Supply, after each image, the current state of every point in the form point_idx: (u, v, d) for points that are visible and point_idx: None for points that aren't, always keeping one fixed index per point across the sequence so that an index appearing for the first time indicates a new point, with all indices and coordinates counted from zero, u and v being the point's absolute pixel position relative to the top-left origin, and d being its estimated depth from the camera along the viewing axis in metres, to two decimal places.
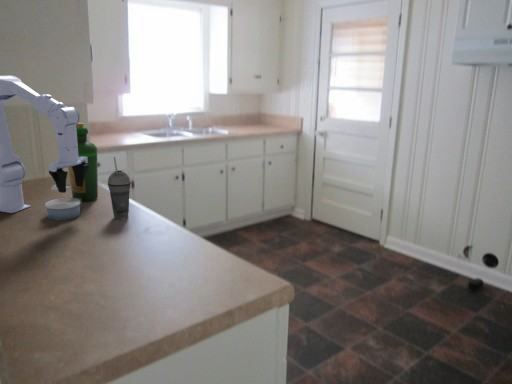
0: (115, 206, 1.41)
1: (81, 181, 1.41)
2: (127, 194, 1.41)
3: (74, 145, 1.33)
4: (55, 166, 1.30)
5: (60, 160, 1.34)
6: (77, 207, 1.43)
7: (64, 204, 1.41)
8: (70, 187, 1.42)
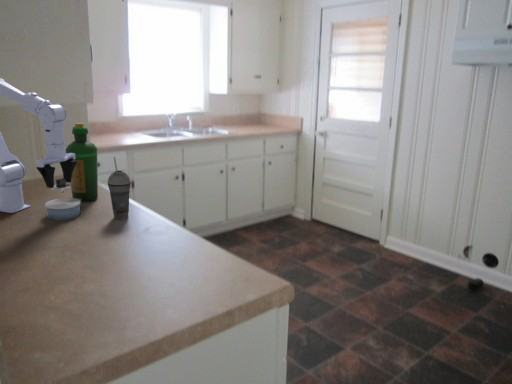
0: (115, 206, 1.41)
1: (69, 177, 1.44)
2: (127, 194, 1.41)
3: (62, 141, 1.37)
4: (42, 162, 1.33)
5: (48, 156, 1.37)
6: (77, 207, 1.43)
7: (64, 204, 1.41)
8: (70, 187, 1.42)
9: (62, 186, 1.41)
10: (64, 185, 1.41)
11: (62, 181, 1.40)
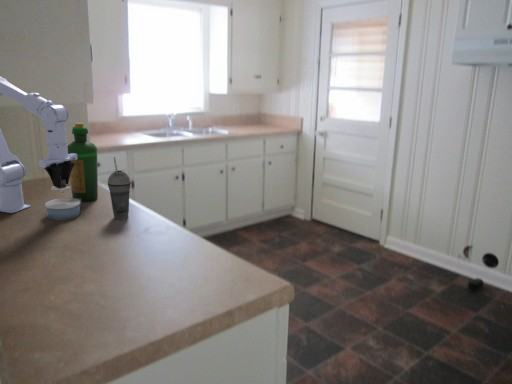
0: (115, 206, 1.41)
1: (66, 178, 1.42)
2: (127, 194, 1.41)
3: (64, 142, 1.37)
4: (45, 162, 1.33)
5: (50, 157, 1.37)
6: (77, 207, 1.43)
7: (64, 204, 1.41)
8: (70, 187, 1.42)
9: (62, 186, 1.41)
10: (64, 185, 1.41)
11: (62, 181, 1.40)
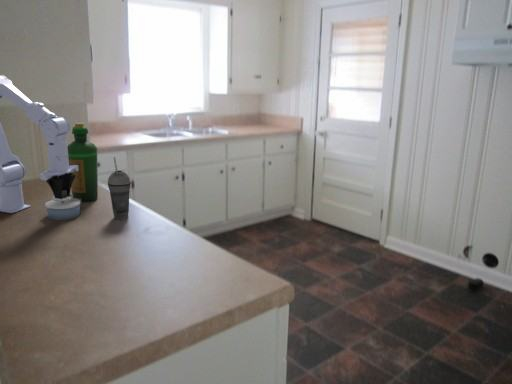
0: (115, 206, 1.41)
1: (67, 190, 1.43)
2: (127, 194, 1.41)
3: (65, 154, 1.38)
4: (46, 175, 1.34)
5: (51, 169, 1.38)
6: (77, 207, 1.43)
7: (64, 204, 1.41)
8: (71, 197, 1.43)
9: (63, 196, 1.41)
10: (65, 195, 1.42)
11: (63, 191, 1.41)
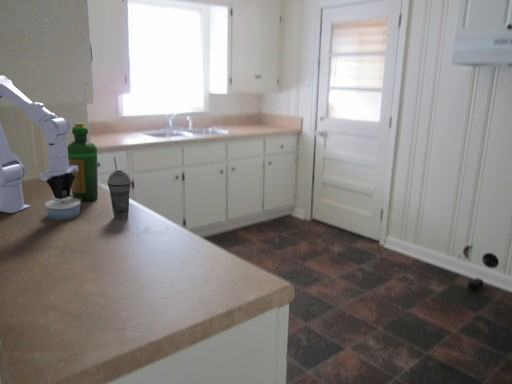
0: (115, 206, 1.41)
1: (67, 190, 1.43)
2: (127, 194, 1.41)
3: (65, 154, 1.38)
4: (46, 175, 1.34)
5: (51, 169, 1.38)
6: (77, 207, 1.43)
7: (64, 204, 1.41)
8: (71, 197, 1.43)
9: (63, 196, 1.41)
10: (65, 195, 1.42)
11: (63, 192, 1.41)
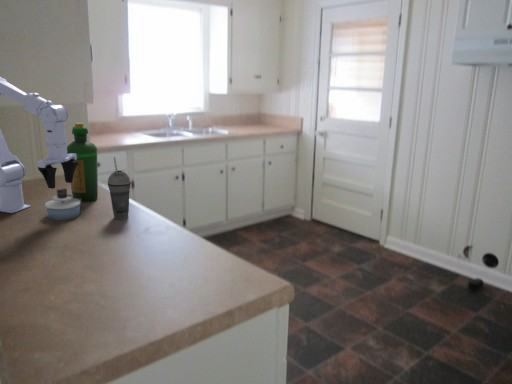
0: (115, 206, 1.41)
1: (70, 177, 1.44)
2: (127, 194, 1.41)
3: (63, 142, 1.37)
4: (44, 162, 1.33)
5: (49, 157, 1.37)
6: (77, 207, 1.43)
7: (64, 204, 1.41)
8: (71, 197, 1.43)
9: (63, 196, 1.41)
10: (65, 195, 1.42)
11: (63, 191, 1.41)
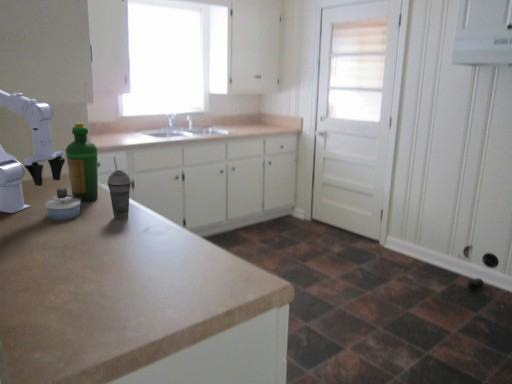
0: (115, 206, 1.41)
1: (57, 175, 1.46)
2: (127, 194, 1.41)
3: (49, 139, 1.39)
4: (30, 160, 1.35)
5: (35, 154, 1.39)
6: (77, 207, 1.43)
7: (64, 204, 1.41)
8: (71, 197, 1.43)
9: (63, 196, 1.41)
10: (65, 195, 1.42)
11: (63, 191, 1.41)
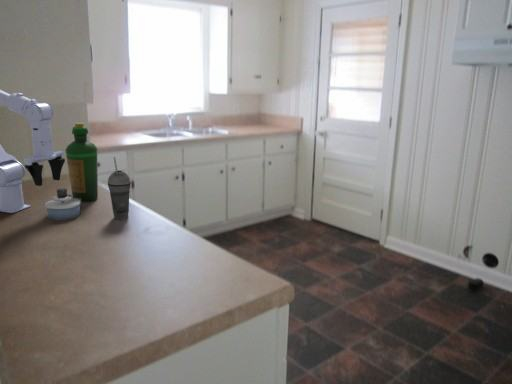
0: (115, 206, 1.41)
1: (57, 175, 1.46)
2: (127, 194, 1.41)
3: (49, 139, 1.39)
4: (30, 160, 1.35)
5: (35, 154, 1.39)
6: (77, 207, 1.43)
7: (64, 204, 1.41)
8: (71, 197, 1.43)
9: (63, 196, 1.41)
10: (65, 195, 1.42)
11: (63, 191, 1.41)
